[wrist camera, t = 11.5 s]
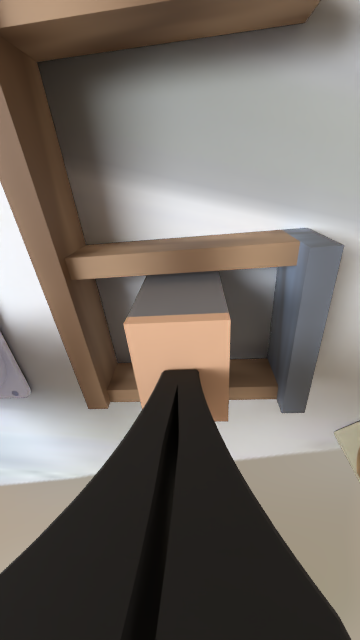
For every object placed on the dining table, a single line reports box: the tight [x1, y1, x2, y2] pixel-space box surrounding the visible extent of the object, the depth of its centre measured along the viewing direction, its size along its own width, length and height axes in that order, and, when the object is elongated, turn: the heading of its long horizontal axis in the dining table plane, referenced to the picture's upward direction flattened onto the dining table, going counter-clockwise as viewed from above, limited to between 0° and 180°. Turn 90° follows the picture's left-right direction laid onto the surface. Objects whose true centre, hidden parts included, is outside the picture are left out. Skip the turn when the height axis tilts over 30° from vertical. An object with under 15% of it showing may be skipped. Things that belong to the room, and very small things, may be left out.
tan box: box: [123, 271, 231, 421], centre depth 12 cm, size 4×5×6 cm
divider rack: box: [0, 0, 344, 413], centre depth 9 cm, size 12×25×4 cm, turn 5°
